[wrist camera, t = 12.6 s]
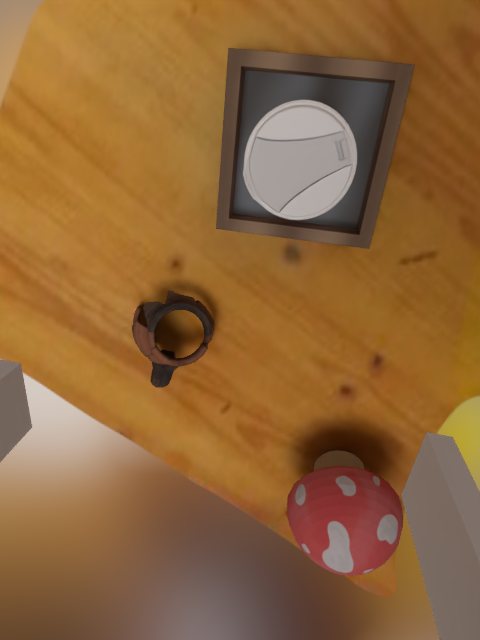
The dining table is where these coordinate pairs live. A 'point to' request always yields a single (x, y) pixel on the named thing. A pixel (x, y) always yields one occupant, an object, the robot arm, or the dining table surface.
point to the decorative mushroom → (345, 515)
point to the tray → (334, 91)
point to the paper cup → (300, 160)
